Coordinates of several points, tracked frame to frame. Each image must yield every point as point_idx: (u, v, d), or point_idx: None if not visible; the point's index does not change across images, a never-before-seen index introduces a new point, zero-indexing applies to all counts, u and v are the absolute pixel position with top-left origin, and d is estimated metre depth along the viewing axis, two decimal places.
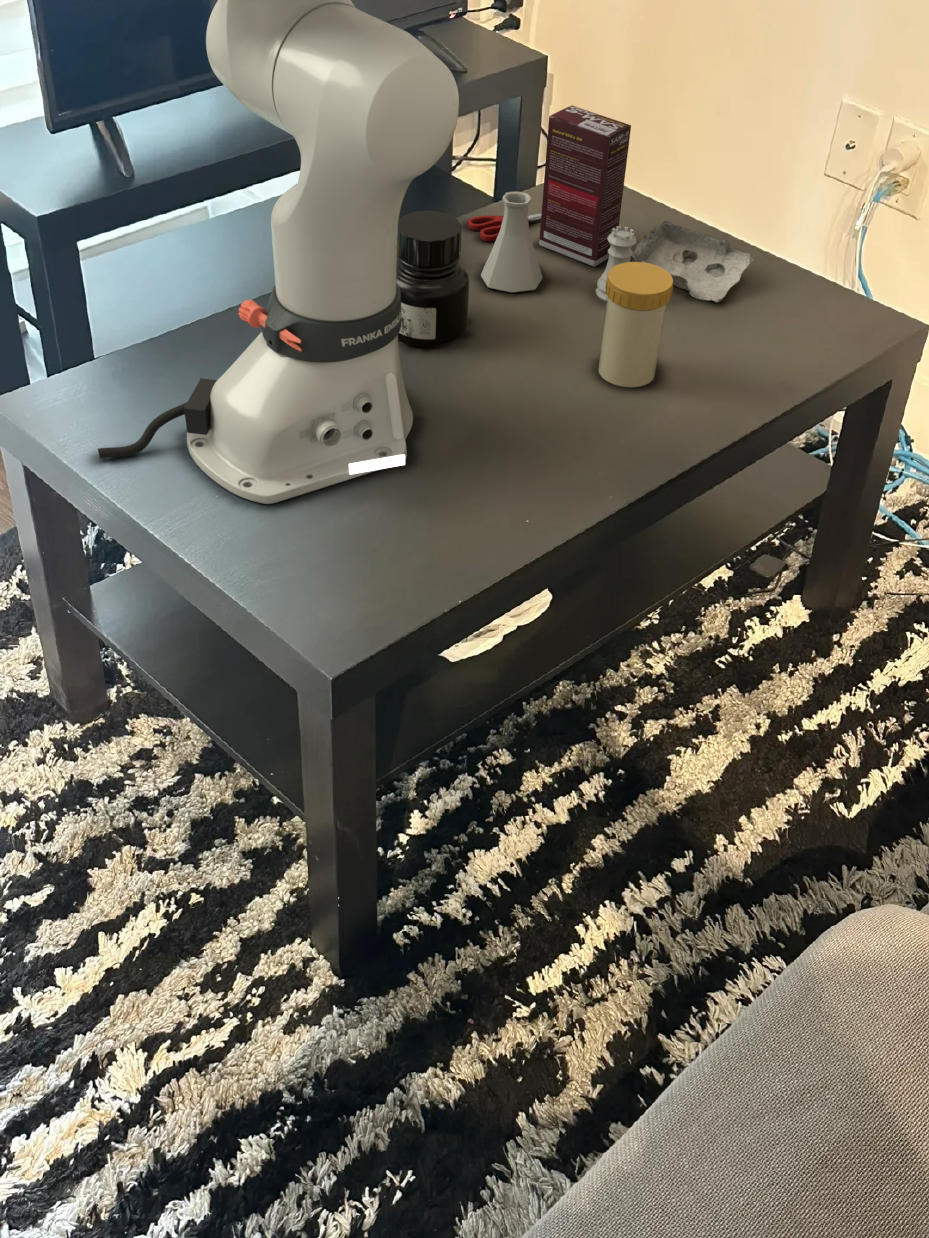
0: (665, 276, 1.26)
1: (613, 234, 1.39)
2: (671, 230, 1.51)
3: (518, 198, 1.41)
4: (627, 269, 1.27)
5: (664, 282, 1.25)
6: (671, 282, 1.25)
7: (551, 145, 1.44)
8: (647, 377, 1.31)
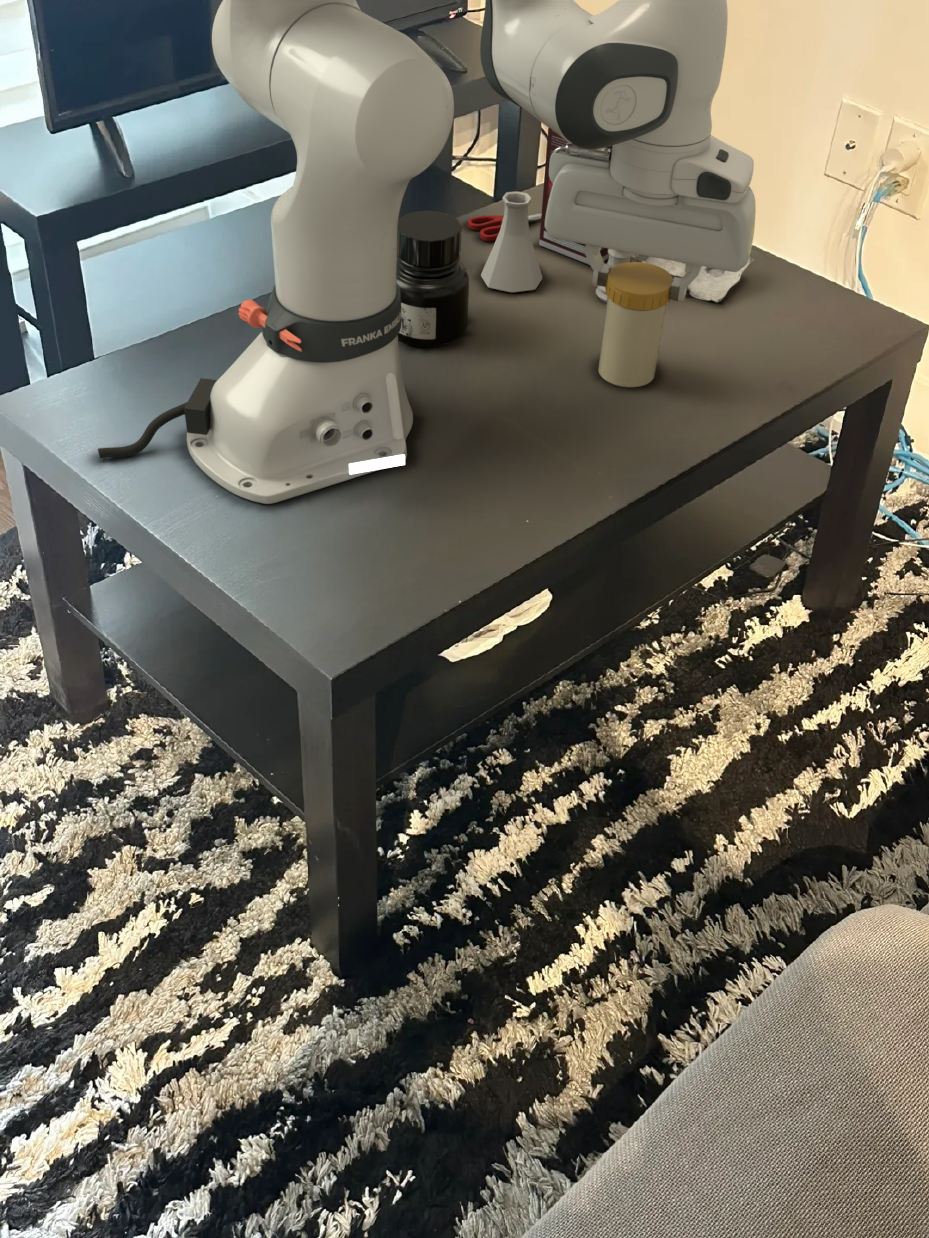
0: (665, 276, 1.26)
1: None
2: None
3: (518, 198, 1.41)
4: (627, 269, 1.27)
5: (664, 282, 1.25)
6: (671, 282, 1.25)
7: (551, 145, 1.44)
8: (646, 377, 1.31)
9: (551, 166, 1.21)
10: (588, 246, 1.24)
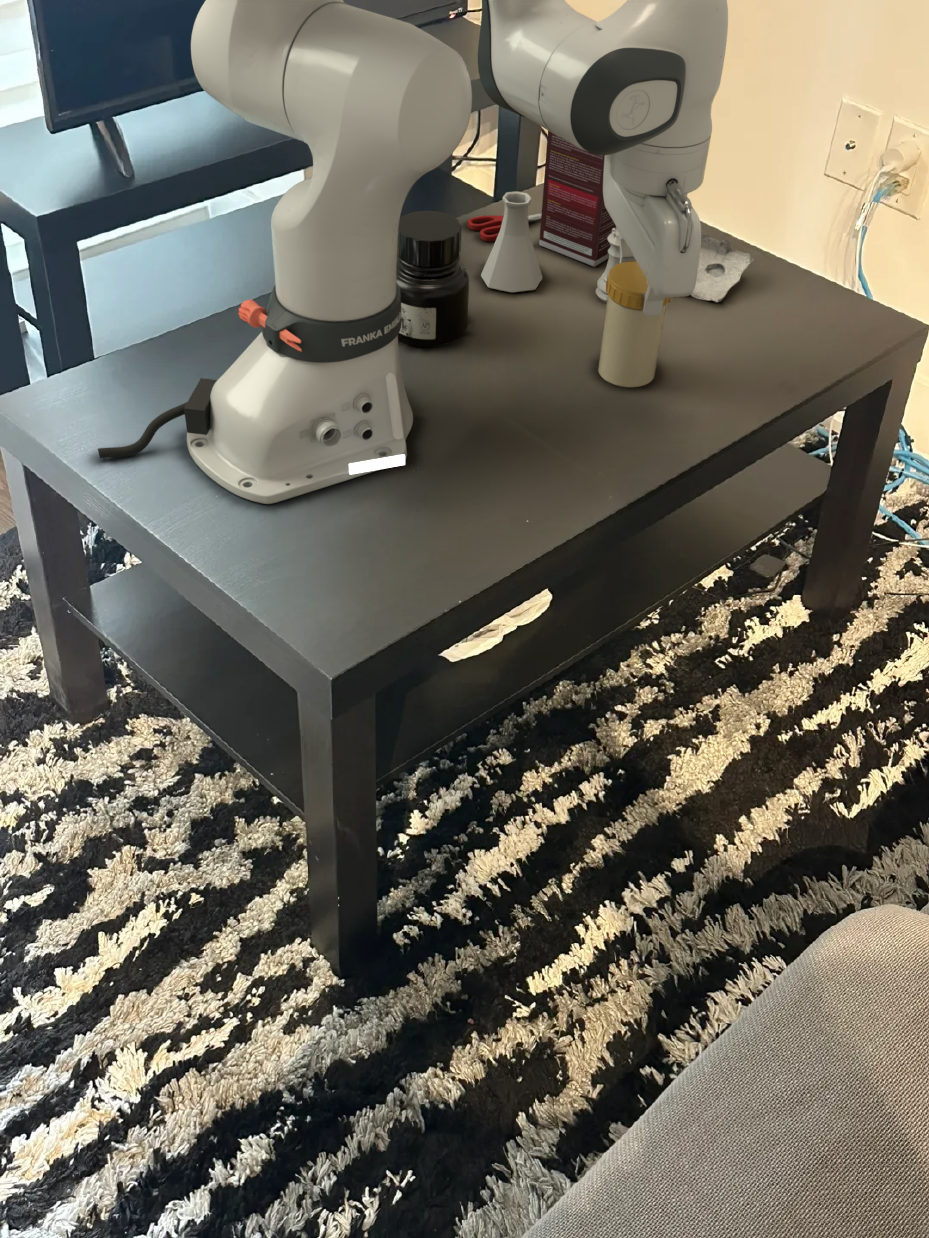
0: (623, 266, 1.27)
1: (613, 234, 1.39)
2: None
3: (518, 198, 1.41)
4: (635, 285, 1.24)
5: (634, 265, 1.27)
6: (630, 262, 1.28)
7: (551, 145, 1.44)
8: (646, 377, 1.31)
9: (691, 233, 1.12)
10: None
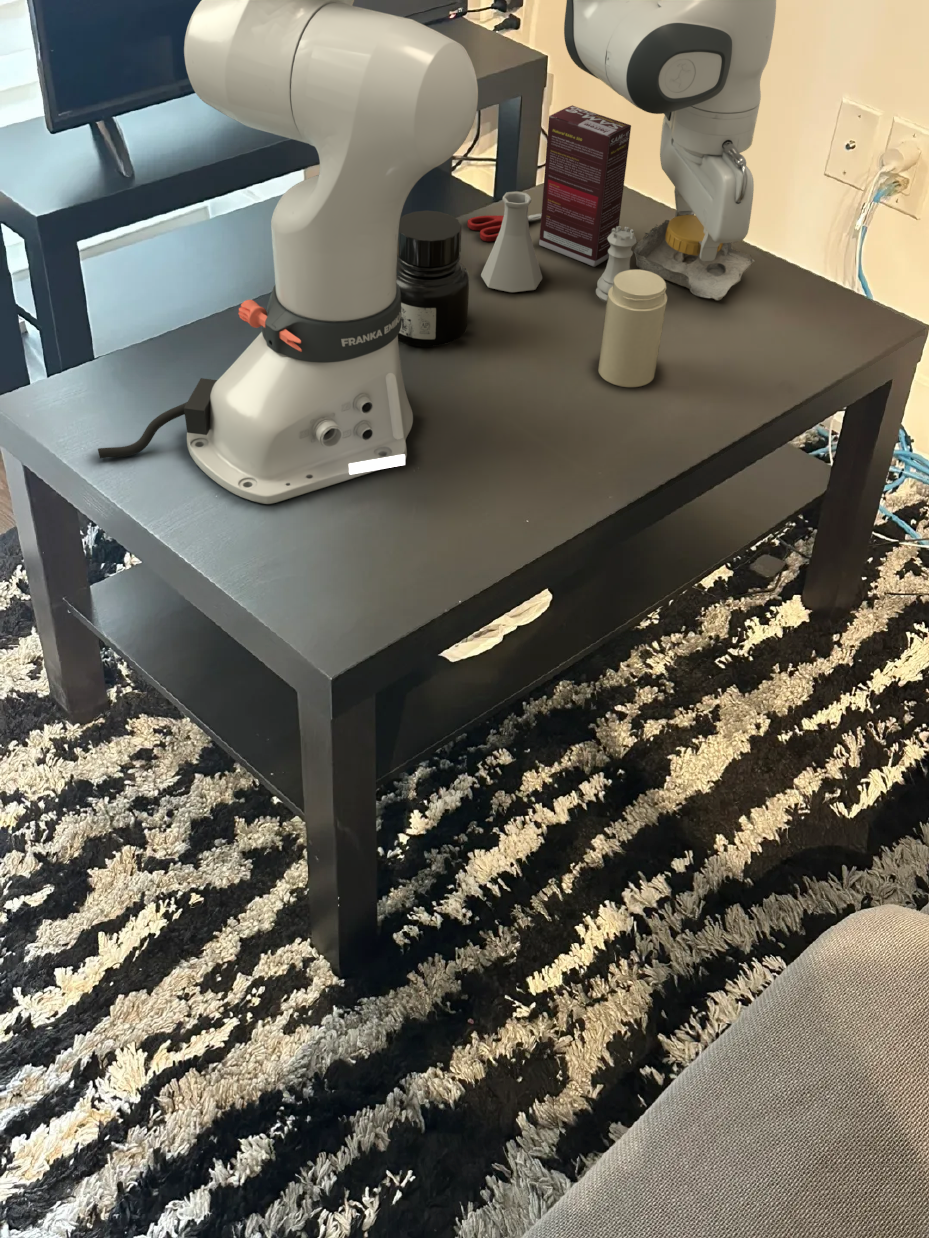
0: (680, 219, 1.46)
1: (613, 234, 1.39)
2: None
3: (518, 198, 1.41)
4: (691, 234, 1.44)
5: (689, 218, 1.47)
6: (685, 215, 1.47)
7: (551, 145, 1.44)
8: (646, 377, 1.31)
9: (746, 186, 1.31)
10: None
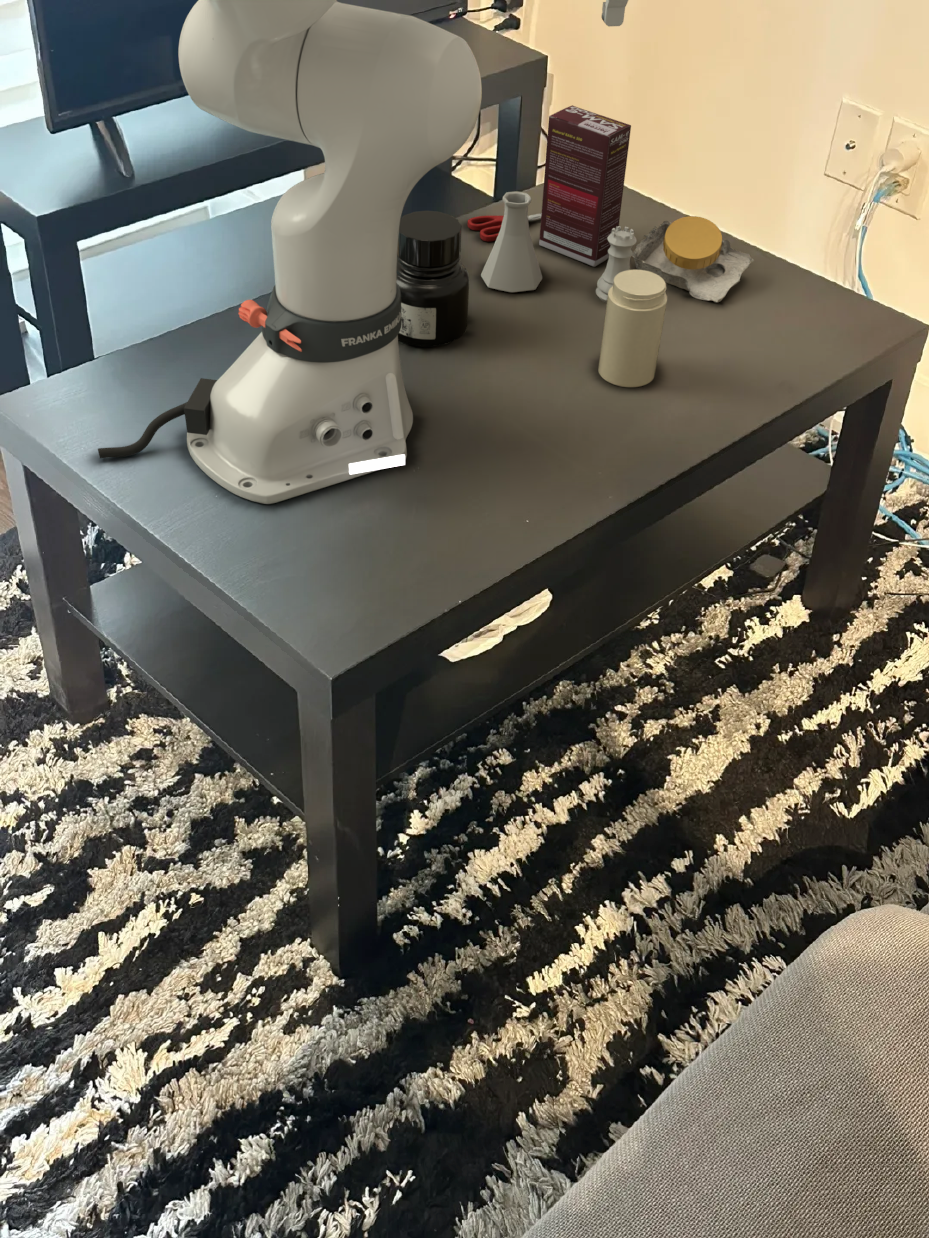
0: (677, 224, 1.46)
1: (613, 234, 1.39)
2: None
3: (518, 198, 1.41)
4: (688, 249, 1.44)
5: (687, 221, 1.46)
6: (683, 218, 1.47)
7: (551, 145, 1.44)
8: (646, 377, 1.31)
9: None
10: None
